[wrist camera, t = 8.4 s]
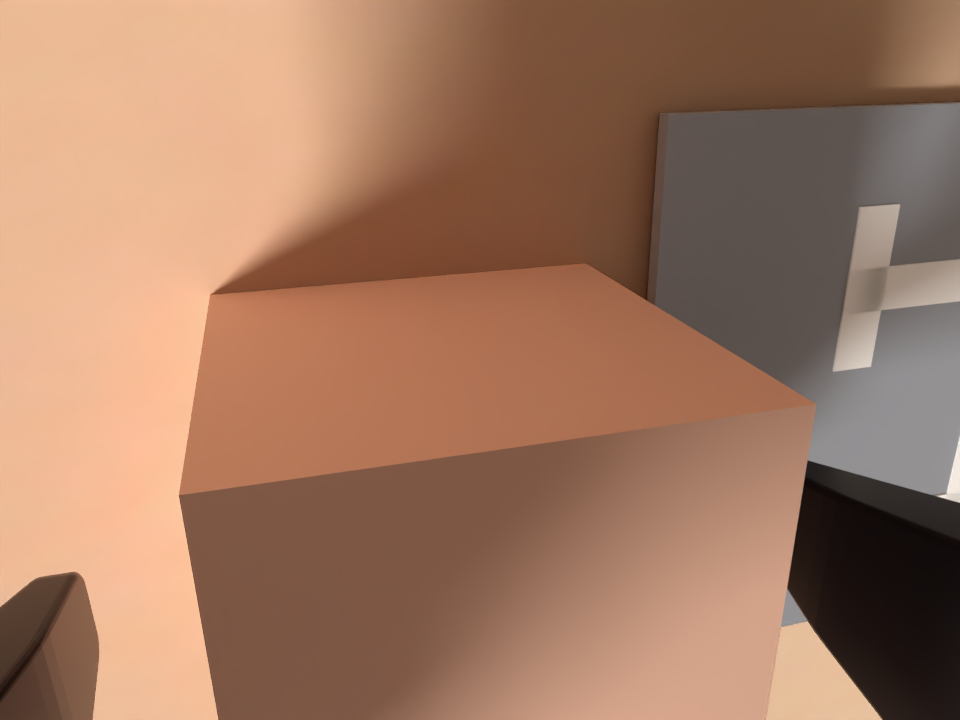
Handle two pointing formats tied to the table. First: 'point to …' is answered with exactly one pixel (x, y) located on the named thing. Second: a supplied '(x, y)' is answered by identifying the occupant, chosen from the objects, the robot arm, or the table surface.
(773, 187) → the tile
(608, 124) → the table surface
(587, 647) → the block
